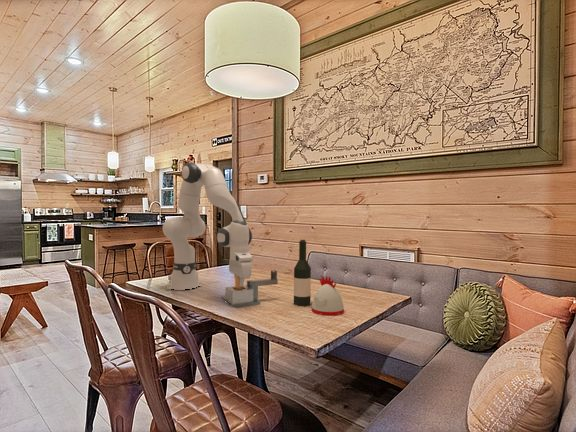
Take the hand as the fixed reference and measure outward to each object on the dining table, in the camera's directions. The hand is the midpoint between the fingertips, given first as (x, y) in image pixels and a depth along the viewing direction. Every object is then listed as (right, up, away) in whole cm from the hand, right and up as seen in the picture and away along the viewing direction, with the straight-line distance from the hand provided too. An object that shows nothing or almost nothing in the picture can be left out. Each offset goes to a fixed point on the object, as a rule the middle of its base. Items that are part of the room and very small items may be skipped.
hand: (239, 284), depth 160 cm
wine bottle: (+30, -9, 0) cm, 31 cm away
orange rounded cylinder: (0, -5, 0) cm, 5 cm away
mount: (0, -9, +3) cm, 9 cm away
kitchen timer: (+40, -9, -11) cm, 43 cm away
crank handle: (+11, -1, +6) cm, 13 cm away
